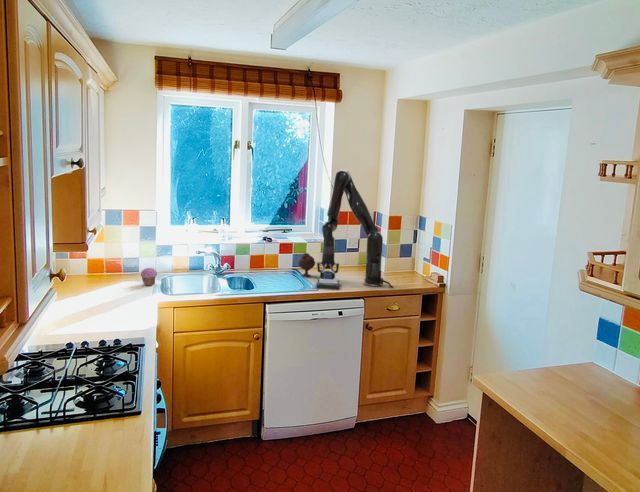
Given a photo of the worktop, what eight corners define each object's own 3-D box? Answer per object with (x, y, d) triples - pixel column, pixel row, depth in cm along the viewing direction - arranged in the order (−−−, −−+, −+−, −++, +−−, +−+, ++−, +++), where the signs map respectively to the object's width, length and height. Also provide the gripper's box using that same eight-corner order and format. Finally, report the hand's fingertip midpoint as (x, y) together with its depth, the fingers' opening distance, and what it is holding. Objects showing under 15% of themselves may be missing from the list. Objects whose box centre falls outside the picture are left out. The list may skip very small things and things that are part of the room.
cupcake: (160, 284, 272) (159, 267, 271) (150, 287, 264) (150, 270, 263) (147, 282, 275) (147, 265, 274) (137, 285, 267) (137, 268, 266)
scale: (339, 283, 286) (339, 279, 286) (338, 289, 274) (338, 284, 273) (318, 282, 288) (318, 278, 287) (316, 288, 275) (316, 283, 274)
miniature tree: (295, 277, 299) (296, 254, 297) (301, 273, 309) (301, 251, 307) (311, 278, 296) (312, 255, 294) (316, 275, 306) (317, 252, 304)
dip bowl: (332, 279, 296) (332, 271, 296) (332, 282, 290) (332, 273, 289) (322, 278, 297) (323, 270, 296) (322, 281, 291) (322, 273, 290)
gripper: (316, 253, 288) (315, 279, 290) (340, 254, 287) (338, 281, 289) (317, 251, 295) (316, 276, 298) (340, 252, 294) (339, 278, 296)
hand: (327, 278), depth 293 cm, fingers closed on dip bowl, 6 cm apart
